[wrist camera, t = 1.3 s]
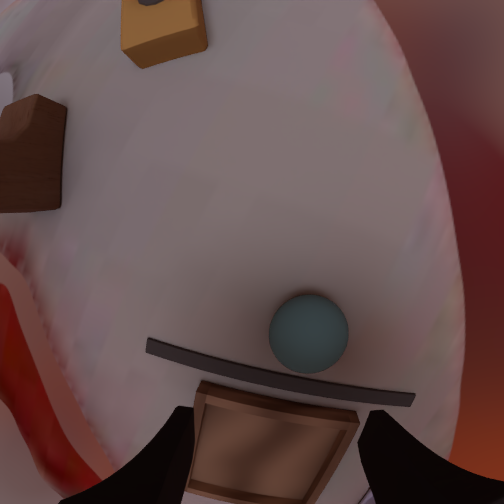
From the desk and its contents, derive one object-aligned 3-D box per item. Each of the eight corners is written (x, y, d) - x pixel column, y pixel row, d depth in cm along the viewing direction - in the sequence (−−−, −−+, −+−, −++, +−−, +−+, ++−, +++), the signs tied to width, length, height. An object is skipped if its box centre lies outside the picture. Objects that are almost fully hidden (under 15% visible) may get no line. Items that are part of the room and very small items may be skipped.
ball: (349, 295, 21) (368, 317, 16) (328, 359, 22) (340, 393, 17) (279, 279, 21) (280, 297, 16) (262, 345, 22) (258, 378, 17)
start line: (414, 393, 22) (415, 395, 21) (409, 405, 22) (410, 406, 21) (148, 337, 23) (147, 338, 22) (146, 350, 23) (145, 352, 23)
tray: (355, 411, 22) (360, 423, 20) (307, 501, 24) (307, 513, 22) (201, 380, 23) (196, 391, 21) (183, 477, 24) (178, 489, 23)
